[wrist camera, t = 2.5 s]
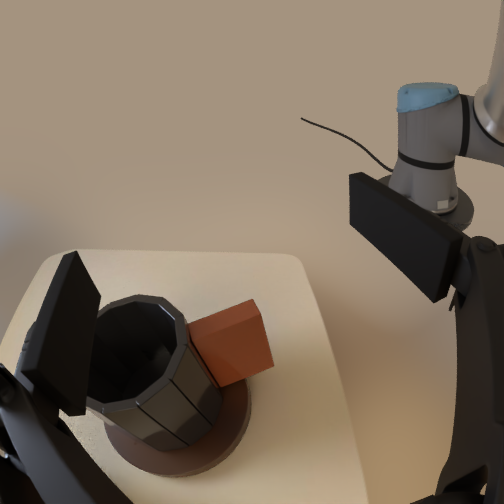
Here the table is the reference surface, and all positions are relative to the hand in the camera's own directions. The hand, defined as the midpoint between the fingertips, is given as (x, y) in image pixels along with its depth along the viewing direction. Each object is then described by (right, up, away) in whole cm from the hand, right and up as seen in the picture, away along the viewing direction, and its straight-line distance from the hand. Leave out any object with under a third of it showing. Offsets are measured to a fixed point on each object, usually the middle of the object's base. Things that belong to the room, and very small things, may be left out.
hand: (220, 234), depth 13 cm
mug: (-5, -15, +13) cm, 20 cm away
